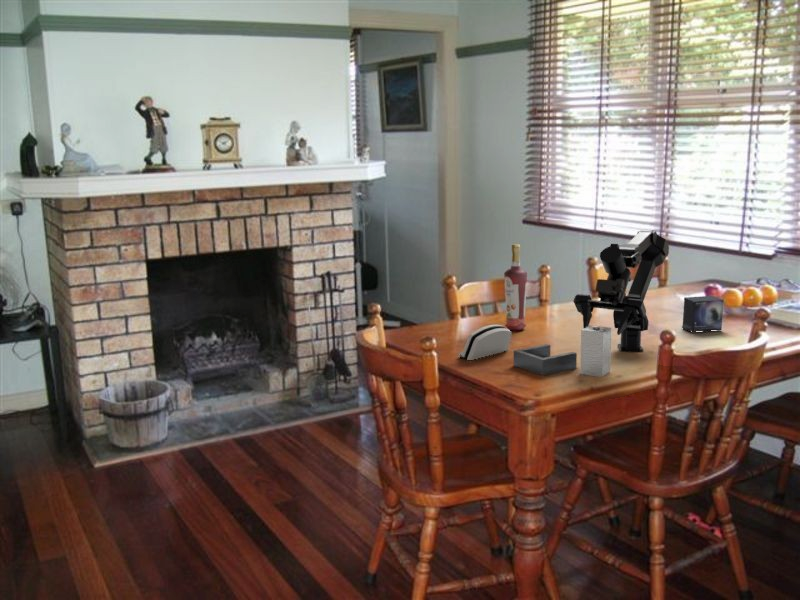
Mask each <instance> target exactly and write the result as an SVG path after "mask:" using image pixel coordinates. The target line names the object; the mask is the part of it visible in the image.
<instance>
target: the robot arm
mask: <svg viewBox="0 0 800 600" xmlns="http://www.w3.org/2000/svg"><path fill="white" fill-rule="evenodd" d="M669 252H670V245H669V243H668V241H667V240H666V238H664V237H662V236H661V235H660V234H658V233H657V231H655V230H652V229H640V230H638V231H637V233H636V234H635V235H634V237H633V238H632V239H631V240H629V241H628V242H627V243H625V244H619V243H610V245H609V246H607V247H605V248H603V250H601V251H600V253H599V258H600V261H601V263H602V266H603V269H604V271H605V273H607V278H606V279H602V278H598V279H596V284H595V289H594V291H595V292H597V298H598V299H600V300H598V299H597V300H596V299H593V298H592V297H591V295H590V294H581V293H578V294H575V296H574V298H573V303H574V306H575V308H576V310H577V312H578V313H580V314H581V315H582V322H583V324H582V325H583V328H582V329H584V328H586V327H588V326H589V325H590V323H591V319H592V318H593V314H592V313H593V311H594V309H603V310H604V309H605V310H608V311H609V310H611V311H613V313H612V314H613V315H612V317H613V324H614V325H613V326H614V329H617V332H616V334H617V335H618V336H620V343H618V344H617V347H618V348H619V350H620V351H621V352H644V348H643V347H642V345H641V343H642V332H644V331H648V330H649V322H650V321H649V319H648V316H647V309H646V307H645V303H644V300H645V298H646V296H647V293H648V290H649V287H650V284H651V281H652V279H653V276H654V273H655V270H656V268H657V267H659V266H661V265H662V264H664V262H665V260H666V257H667V256H668V255H669V254H670V253H669ZM637 267H638V268H637ZM636 268H637V270H636V273H635V274H634V277H633V280H632V279H631V278H632V277H631V275H632V272H631V271H630V269H636ZM631 281H632V283H631V285H630V288H629V291H628V293H627V294H626V291H627V287H628V285H629V282H631Z"/></svg>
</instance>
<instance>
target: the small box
mask: <svg viewBox="0 0 800 600" xmlns="http://www.w3.org/2000/svg"><path fill="white" fill-rule="evenodd" d="M723 313H724V299H723V298H720V297H717V296H715V295H706V296H688V297H684V299H683V313H682V327H681V329H682V328H683V330H684V329H686V330H685V331H687V330H689V331H692V332H696V331H711V330H722V329H723V328H722V327H723V316H724V315H723ZM689 331H688V332H689ZM722 331H723V330H722Z"/></svg>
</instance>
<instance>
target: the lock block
mask: <svg viewBox="0 0 800 600" xmlns="http://www.w3.org/2000/svg"><path fill="white" fill-rule="evenodd" d="M611 349H612V327H608V326H607V327H606V326H597V325H590V324H589V326H588V327H586V328H582V329H581V330H580V367H579V368H580V372H579V373H580V374H579V375H583V374H585V376H590V377H599V378H603V377H604V376H607V375H608V374H609V373H610V372H611V358H612V356H611V353H612V352H611Z"/></svg>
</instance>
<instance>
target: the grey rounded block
mask: <svg viewBox="0 0 800 600" xmlns="http://www.w3.org/2000/svg"><path fill="white" fill-rule="evenodd" d="M512 334H513V331H510V330H509V329H507V327H506V326H505V325H501V324H490V325H489V324H488V325H485V326H482V327H480V328H478V329H475V330H474V331H473V332H471V333H470V334H468V336H467V340H466V343H465V345H464V348H463V350H462V351H461V352H459V353H458V357H459V358H458V357H457V358H458V359H461V358H460V357H462V358H466V360H467V361H468V360H473V361H475V360H474V359H476V360H479V359H478V358H480V359H482V358H481V357H483V358H486V357H485V356H487V357H490V356H493V354H494V355H497V353H498V354H501V353H504V351H505V352H508V351H509V348H510V344H511V338H512ZM489 355H490V356H489Z"/></svg>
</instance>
